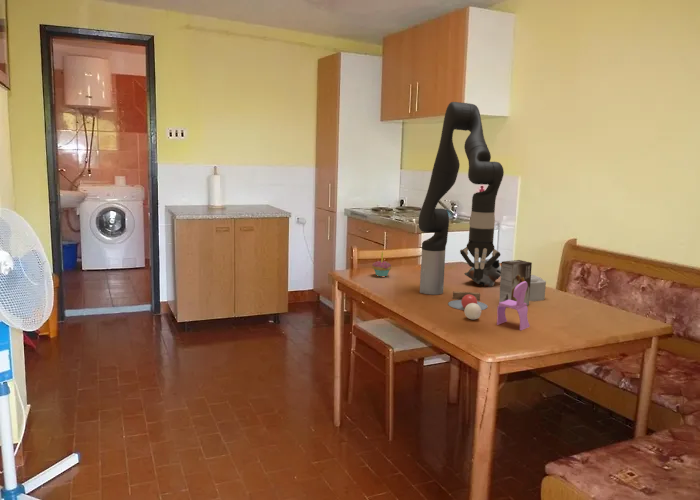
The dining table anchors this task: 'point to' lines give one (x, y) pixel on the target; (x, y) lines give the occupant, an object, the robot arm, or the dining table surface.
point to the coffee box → (514, 279)
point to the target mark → (458, 305)
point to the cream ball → (472, 311)
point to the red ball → (468, 300)
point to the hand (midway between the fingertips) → (478, 279)
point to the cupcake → (381, 267)
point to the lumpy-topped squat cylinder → (537, 288)
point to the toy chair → (515, 306)
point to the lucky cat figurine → (487, 274)
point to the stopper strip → (461, 294)
